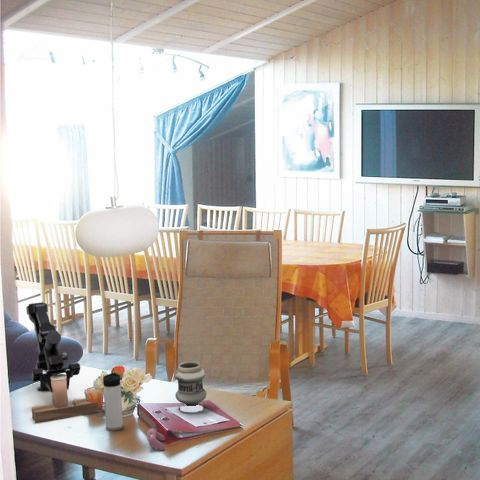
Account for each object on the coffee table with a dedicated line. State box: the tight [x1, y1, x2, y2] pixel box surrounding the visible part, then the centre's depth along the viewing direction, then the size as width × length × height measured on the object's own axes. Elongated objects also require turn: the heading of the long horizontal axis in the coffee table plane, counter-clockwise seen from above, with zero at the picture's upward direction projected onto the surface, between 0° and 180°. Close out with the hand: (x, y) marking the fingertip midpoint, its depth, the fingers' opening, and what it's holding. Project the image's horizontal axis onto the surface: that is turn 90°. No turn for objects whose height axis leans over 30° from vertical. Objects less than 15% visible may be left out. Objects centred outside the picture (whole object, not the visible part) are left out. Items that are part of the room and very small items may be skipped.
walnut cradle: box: [31, 397, 99, 424], centre depth 314 cm, size 7×24×4 cm, turn 114°
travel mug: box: [102, 372, 124, 432], centre depth 297 cm, size 6×7×20 cm
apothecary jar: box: [174, 361, 207, 406], centre depth 314 cm, size 12×12×18 cm
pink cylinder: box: [50, 373, 69, 408], centre depth 321 cm, size 6×6×12 cm
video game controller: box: [146, 427, 166, 451], centre depth 280 cm, size 10×5×7 cm, turn 6°
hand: (60, 390), depth 320 cm, fingers closed on pink cylinder, 6 cm apart
